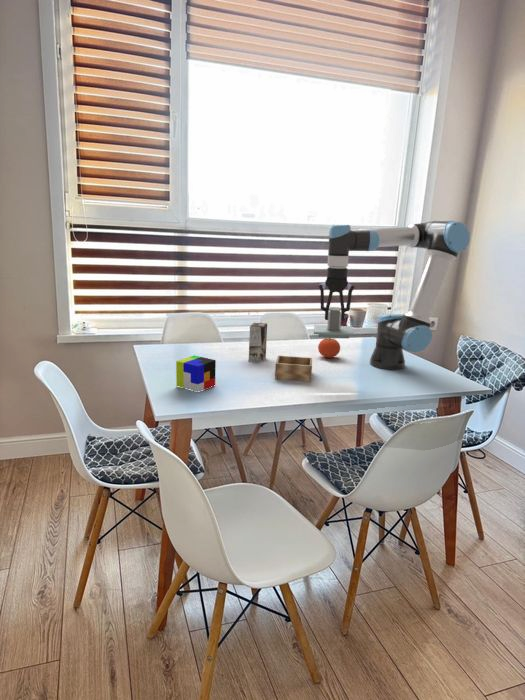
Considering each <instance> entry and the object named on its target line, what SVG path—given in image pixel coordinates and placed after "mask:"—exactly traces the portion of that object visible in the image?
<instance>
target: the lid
mask: <svg viewBox="0 0 525 700" xmlns="http://www.w3.org/2000/svg"><path fill="white" fill-rule="evenodd" d="M329 311H330V324H329V329H327V324H326V325H325V324H314V327H313V335H318V338H330V339H350V337H355V331H354V327H353V326H348V325H346V326H345V325H341V329H340V330H339V317H340V312H341V309H340V307H338V306H330V307H329Z"/></svg>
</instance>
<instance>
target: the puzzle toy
mask: <svg viewBox="0 0 525 700" xmlns="http://www.w3.org/2000/svg"><path fill="white" fill-rule="evenodd" d="M175 362H176V364H175V365H176V372H175V373H176V375H175V376H176V377H175V378H176V387H177V386H180V387H183V388H187V389H191V390H193V391H197V392H198V391H201V390H204V389H206V388H209V387H211V386H214V385H215V386H216V366H217V365H216V359H213V358H208V357H204V356H200V355H196V354H195V355H191V356H188V357H185V358H182V359H181V358H180V359H179V360H176V361H175ZM215 386H214V387H215ZM211 388H212V387H211ZM209 389H210V388H209ZM204 391H205V390H204Z"/></svg>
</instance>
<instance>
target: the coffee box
mask: <svg viewBox="0 0 525 700" xmlns="http://www.w3.org/2000/svg"><path fill="white" fill-rule="evenodd" d="M267 336H268V323H267V322H266V323H263V322H253V323H252V324H251V325H249V338H248V341H249V342H248V362H251V363H252V362H254V363H255V362H256V363H259V362H261V363H263V362H264V361H265V359H266V358H267V341H268V339H267V338H268V337H267Z"/></svg>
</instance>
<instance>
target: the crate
mask: <svg viewBox="0 0 525 700" xmlns="http://www.w3.org/2000/svg"><path fill="white" fill-rule="evenodd" d="M274 370H275V371H274V380H283V381H284V380H285V381H299V382H311V383H312V373H313V372H312V371H313V357H306V356H305V357H304V356H291V355H277V357H276V361H275V369H274Z"/></svg>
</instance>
